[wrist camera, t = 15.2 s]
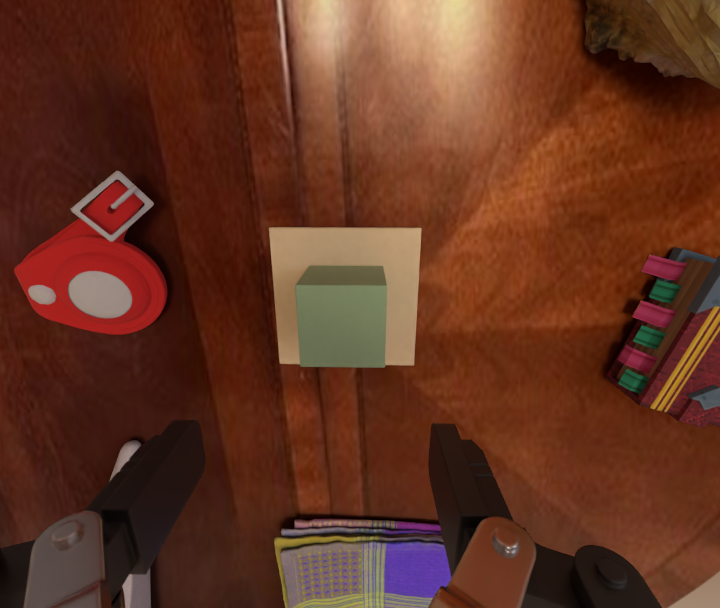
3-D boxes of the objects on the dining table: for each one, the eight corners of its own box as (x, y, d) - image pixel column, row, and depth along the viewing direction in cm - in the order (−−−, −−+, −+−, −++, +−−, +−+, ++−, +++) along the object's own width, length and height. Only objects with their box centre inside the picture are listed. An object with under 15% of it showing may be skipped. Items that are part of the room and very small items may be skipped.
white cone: (3, 457, 28) (20, 704, 33) (113, 472, 28) (113, 717, 33) (82, 408, 35) (86, 615, 40) (168, 420, 35) (161, 626, 40)
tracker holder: (179, 338, 28) (30, 351, 26) (189, 308, 31) (60, 317, 29) (134, 178, 21) (-69, 178, 19) (154, 163, 25) (-15, 162, 23)
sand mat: (280, 361, 30) (279, 364, 29) (270, 226, 26) (268, 227, 26) (413, 362, 29) (414, 365, 29) (420, 227, 26) (421, 228, 25)
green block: (312, 333, 28) (299, 367, 23) (309, 265, 26) (294, 284, 21) (381, 333, 28) (385, 367, 23) (383, 265, 26) (387, 285, 21)
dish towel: (499, 638, 40) (508, 670, 37) (284, 628, 40) (278, 659, 38) (528, 522, 34) (541, 550, 32) (278, 511, 35) (271, 537, 32)
